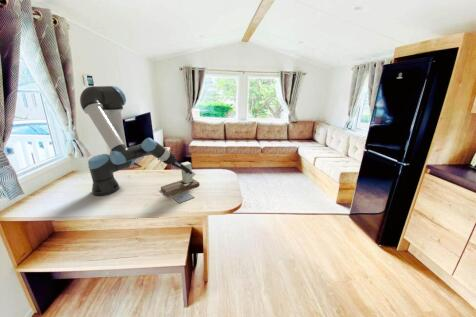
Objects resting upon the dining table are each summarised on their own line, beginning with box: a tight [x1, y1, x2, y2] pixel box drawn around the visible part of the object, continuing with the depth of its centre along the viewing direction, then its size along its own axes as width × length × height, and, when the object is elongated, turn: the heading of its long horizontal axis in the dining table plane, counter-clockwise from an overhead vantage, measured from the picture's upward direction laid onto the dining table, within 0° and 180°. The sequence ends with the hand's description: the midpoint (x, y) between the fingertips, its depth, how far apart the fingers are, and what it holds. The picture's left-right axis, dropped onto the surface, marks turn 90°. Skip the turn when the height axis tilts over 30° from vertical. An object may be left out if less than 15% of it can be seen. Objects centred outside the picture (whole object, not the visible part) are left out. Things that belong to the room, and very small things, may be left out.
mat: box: [171, 190, 195, 204], centre depth 126 cm, size 10×10×1 cm
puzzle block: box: [180, 161, 194, 184], centre depth 138 cm, size 5×5×13 cm
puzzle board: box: [160, 178, 200, 197], centre depth 138 cm, size 12×22×2 cm, turn 132°
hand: (191, 173), depth 141 cm, fingers closed on puzzle block, 5 cm apart
